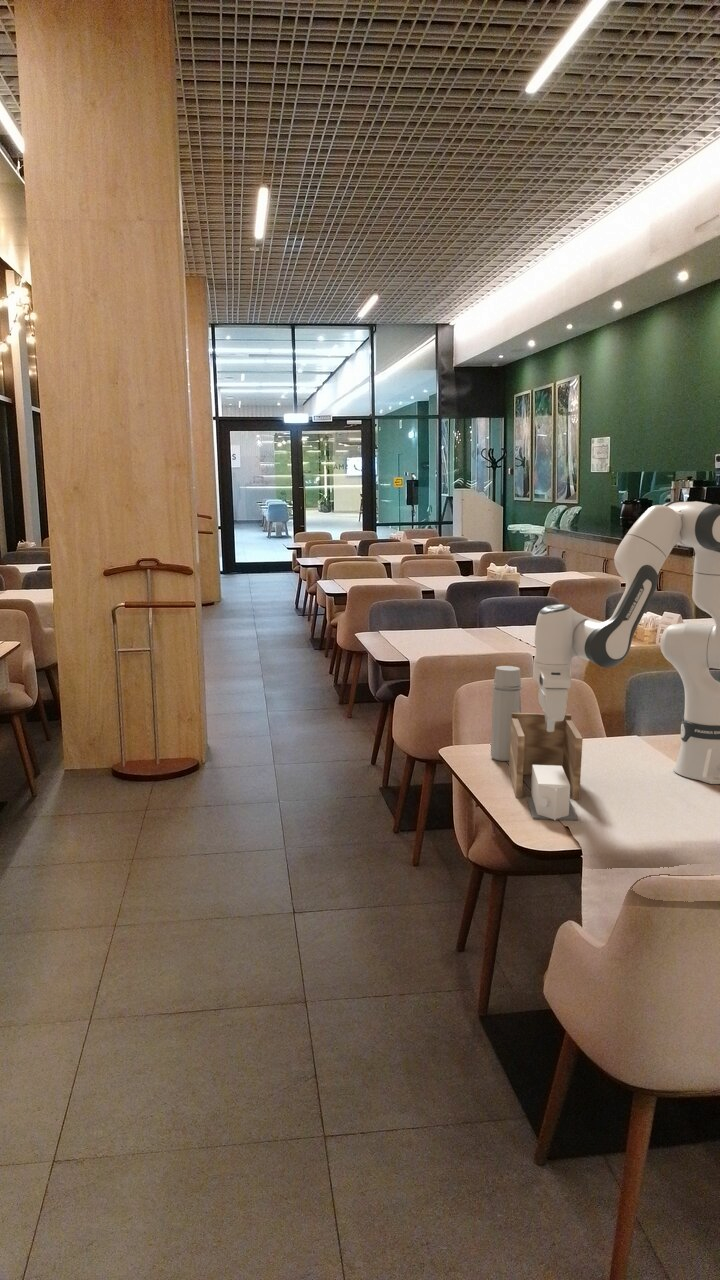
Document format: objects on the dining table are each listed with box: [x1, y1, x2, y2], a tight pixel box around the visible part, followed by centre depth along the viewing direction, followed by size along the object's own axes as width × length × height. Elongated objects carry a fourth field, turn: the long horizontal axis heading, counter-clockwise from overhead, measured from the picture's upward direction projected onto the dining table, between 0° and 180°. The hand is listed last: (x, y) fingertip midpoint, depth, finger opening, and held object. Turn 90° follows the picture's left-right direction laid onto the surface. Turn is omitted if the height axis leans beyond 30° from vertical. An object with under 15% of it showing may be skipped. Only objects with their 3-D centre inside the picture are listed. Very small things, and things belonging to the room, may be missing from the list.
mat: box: [525, 796, 579, 821], centre depth 220 cm, size 10×14×1 cm
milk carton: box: [530, 765, 571, 822], centre depth 220 cm, size 7×7×19 cm
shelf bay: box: [508, 712, 583, 800], centre depth 235 cm, size 15×19×16 cm
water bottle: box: [490, 665, 523, 762], centre depth 258 cm, size 9×8×25 cm
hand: (549, 730), depth 228 cm, fingers closed
